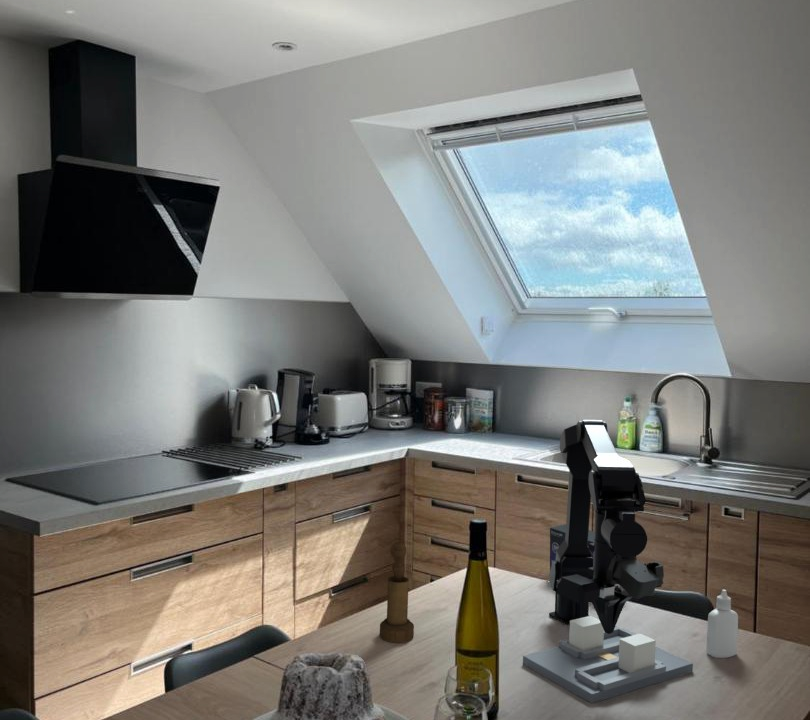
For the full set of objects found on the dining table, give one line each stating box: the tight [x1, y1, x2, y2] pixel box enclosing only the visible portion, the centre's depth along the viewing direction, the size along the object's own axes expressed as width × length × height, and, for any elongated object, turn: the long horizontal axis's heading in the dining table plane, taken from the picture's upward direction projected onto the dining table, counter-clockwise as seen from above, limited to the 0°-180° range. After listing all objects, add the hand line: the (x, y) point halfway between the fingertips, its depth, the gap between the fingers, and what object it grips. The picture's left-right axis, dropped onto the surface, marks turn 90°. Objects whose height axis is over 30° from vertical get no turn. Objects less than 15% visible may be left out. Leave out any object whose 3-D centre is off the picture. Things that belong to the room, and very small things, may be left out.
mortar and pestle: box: [379, 541, 415, 644], centre depth 158 cm, size 7×6×18 cm
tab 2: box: [618, 633, 657, 673], centre depth 143 cm, size 4×5×5 cm
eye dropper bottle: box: [706, 589, 739, 659], centre depth 153 cm, size 4×6×12 cm
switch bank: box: [522, 625, 694, 704], centre depth 147 cm, size 17×24×2 cm
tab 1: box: [568, 615, 604, 651], centre depth 151 cm, size 4×5×5 cm
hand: (608, 633), depth 139 cm, fingers closed
